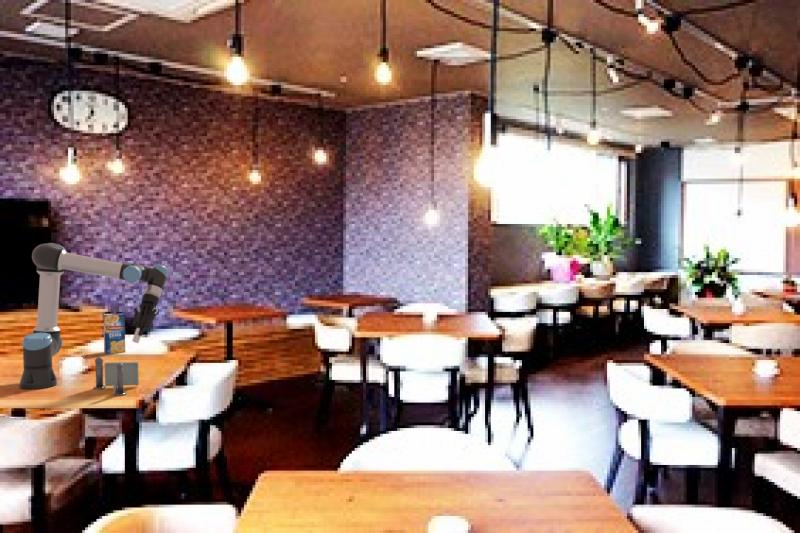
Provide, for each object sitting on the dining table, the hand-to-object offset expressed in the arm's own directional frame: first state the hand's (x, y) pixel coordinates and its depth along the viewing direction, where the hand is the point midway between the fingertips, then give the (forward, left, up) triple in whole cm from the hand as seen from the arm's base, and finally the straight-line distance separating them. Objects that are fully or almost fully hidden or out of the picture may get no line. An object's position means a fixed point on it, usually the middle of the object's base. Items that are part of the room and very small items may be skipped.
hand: (135, 341), depth 329 cm
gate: (-9, -8, -18) cm, 22 cm away
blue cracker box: (+21, +88, -19) cm, 93 cm away
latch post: (-15, -21, -19) cm, 32 cm away
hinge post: (-17, -3, -19) cm, 26 cm away
